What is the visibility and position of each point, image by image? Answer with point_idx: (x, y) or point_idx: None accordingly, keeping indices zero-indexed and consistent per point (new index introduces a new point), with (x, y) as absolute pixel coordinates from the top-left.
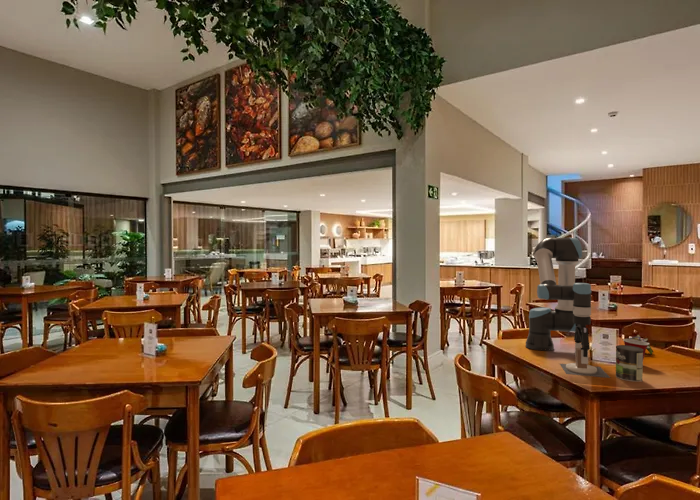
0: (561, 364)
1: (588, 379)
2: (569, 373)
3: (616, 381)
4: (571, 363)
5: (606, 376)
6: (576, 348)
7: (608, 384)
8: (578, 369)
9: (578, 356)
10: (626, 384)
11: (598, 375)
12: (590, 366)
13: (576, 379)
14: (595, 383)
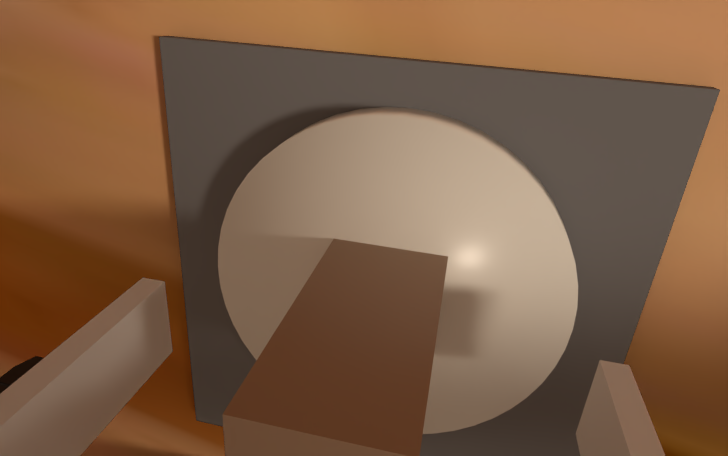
0: (651, 107)
1: (105, 228)
2: (193, 85)
3: (152, 421)
4: (550, 236)
5: (225, 408)
6: (358, 446)
7: (40, 331)
8: (251, 221)
9: (277, 337)
10: (106, 448)
11: (232, 359)
12: (436, 403)
13: (47, 106)
14: (12, 242)
